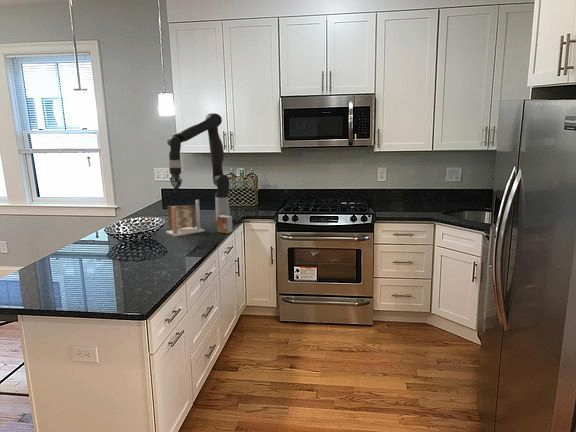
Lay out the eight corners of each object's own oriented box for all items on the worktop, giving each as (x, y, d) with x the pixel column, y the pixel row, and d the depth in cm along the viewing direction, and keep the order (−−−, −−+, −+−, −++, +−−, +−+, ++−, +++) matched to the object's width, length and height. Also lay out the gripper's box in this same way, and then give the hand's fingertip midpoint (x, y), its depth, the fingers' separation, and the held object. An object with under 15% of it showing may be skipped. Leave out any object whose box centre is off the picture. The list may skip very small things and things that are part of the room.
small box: (217, 232, 292) (216, 216, 290) (222, 230, 297) (221, 214, 295) (227, 233, 289) (227, 217, 286) (232, 231, 293) (232, 215, 291)
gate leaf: (195, 227, 298) (194, 205, 295) (195, 227, 297) (194, 205, 294) (168, 228, 296) (167, 206, 293) (168, 228, 295) (167, 206, 292)
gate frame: (194, 227, 304) (193, 198, 300) (204, 231, 295) (203, 200, 291) (165, 232, 291) (164, 202, 287) (175, 236, 281) (173, 204, 277)
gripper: (185, 167, 299) (186, 193, 303) (175, 165, 309) (176, 190, 313) (175, 167, 294) (176, 194, 298) (165, 166, 304) (166, 191, 308)
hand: (176, 192), depth 305 cm, fingers closed
